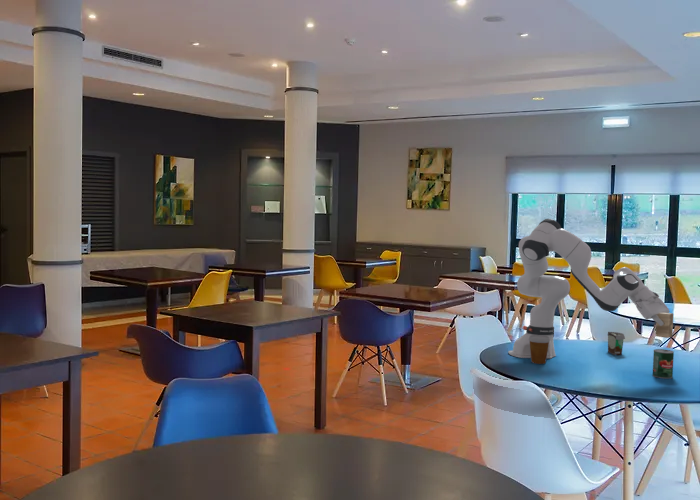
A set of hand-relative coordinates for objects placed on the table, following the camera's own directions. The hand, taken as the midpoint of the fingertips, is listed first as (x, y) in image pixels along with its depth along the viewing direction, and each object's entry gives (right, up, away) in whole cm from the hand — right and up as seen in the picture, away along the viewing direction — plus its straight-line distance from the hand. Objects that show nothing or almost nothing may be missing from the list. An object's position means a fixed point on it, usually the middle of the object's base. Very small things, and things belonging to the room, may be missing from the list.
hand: (666, 324), depth 294 cm
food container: (-1, -20, +52) cm, 56 cm away
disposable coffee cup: (-48, -20, +24) cm, 57 cm away
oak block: (-1, -5, +1) cm, 5 cm away
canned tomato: (-1, -23, +1) cm, 23 cm away
